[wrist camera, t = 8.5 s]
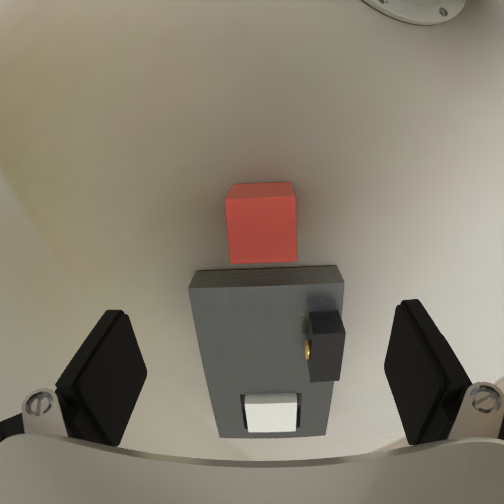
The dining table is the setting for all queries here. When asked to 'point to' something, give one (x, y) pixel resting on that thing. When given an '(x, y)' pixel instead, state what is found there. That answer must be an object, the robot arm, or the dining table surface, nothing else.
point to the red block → (261, 223)
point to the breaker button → (271, 412)
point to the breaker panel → (270, 341)
